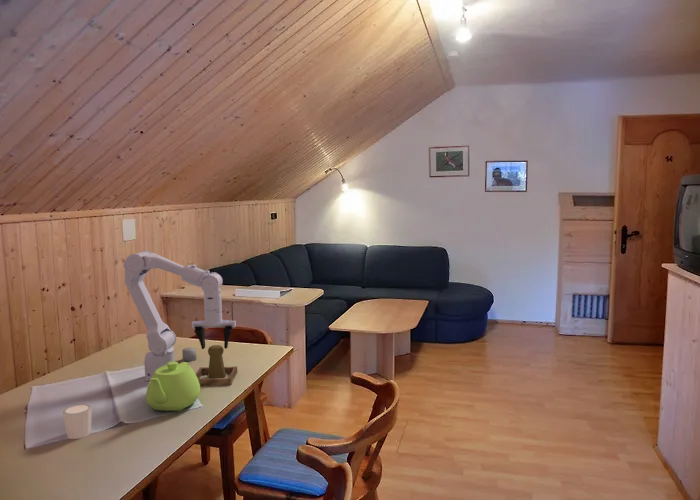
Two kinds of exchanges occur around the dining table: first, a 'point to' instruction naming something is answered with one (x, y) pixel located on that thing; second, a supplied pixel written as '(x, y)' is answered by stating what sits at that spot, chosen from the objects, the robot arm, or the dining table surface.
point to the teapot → (173, 387)
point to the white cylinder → (78, 421)
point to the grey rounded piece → (189, 354)
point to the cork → (216, 362)
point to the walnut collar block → (216, 380)
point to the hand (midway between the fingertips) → (214, 347)
